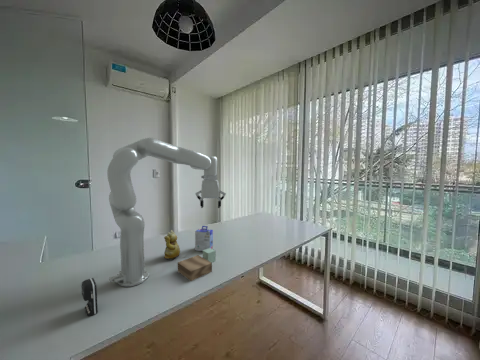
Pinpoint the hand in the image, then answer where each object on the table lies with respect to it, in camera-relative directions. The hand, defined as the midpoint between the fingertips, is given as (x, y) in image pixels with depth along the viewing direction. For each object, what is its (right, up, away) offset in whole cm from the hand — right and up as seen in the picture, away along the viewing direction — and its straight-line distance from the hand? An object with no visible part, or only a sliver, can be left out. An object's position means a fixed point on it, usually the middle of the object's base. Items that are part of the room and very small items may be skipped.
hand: (210, 207), depth 124 cm
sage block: (0, -29, -6) cm, 29 cm away
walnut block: (-6, -30, -17) cm, 35 cm away
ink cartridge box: (-5, -27, +9) cm, 29 cm away
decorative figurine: (-21, -28, -2) cm, 35 cm away
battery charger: (-38, -32, -46) cm, 68 cm away
